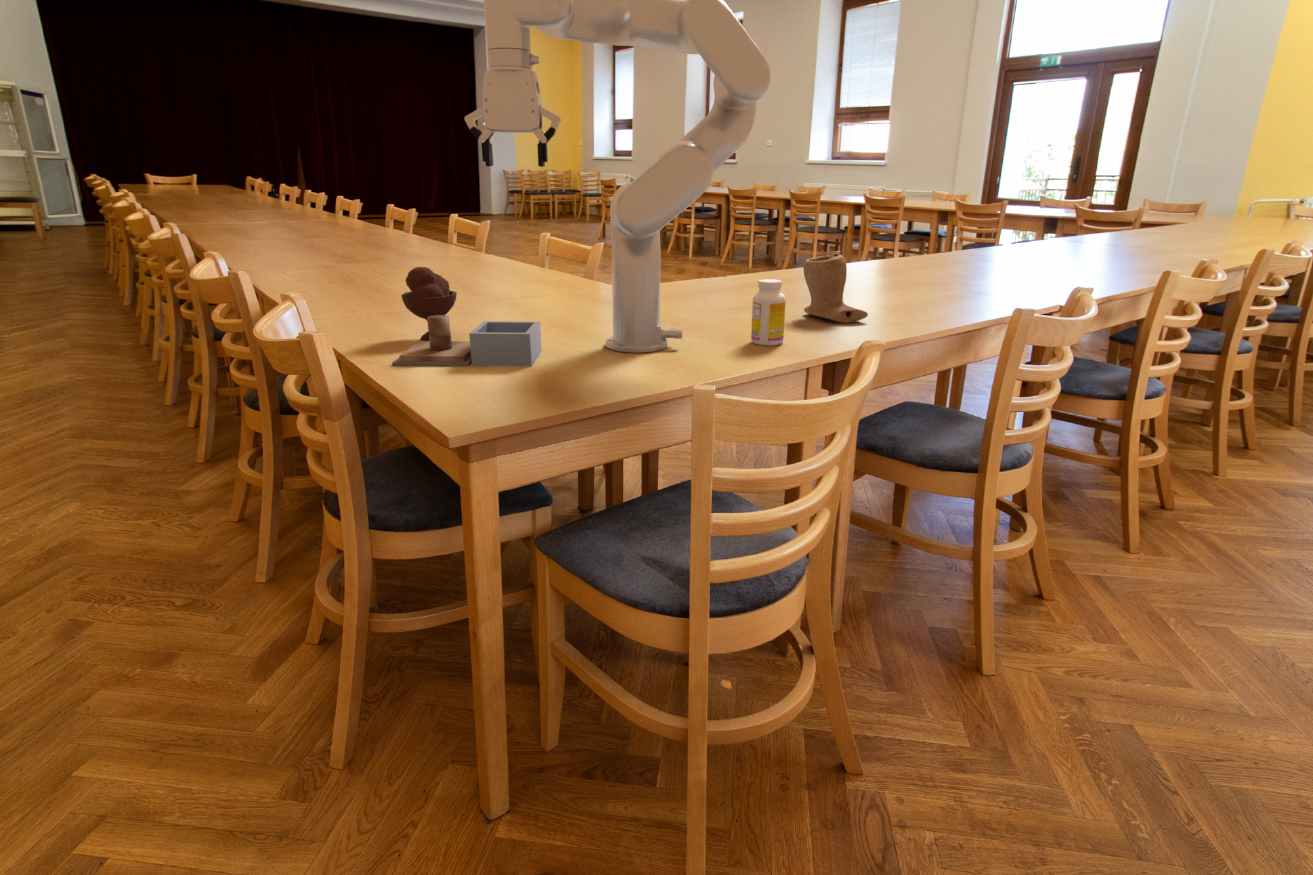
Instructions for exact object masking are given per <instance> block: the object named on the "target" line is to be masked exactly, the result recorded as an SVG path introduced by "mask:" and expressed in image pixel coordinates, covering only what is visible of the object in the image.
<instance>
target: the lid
mask: <svg viewBox="0 0 1313 875" xmlns="http://www.w3.org/2000/svg"><path fill="white" fill-rule="evenodd" d="M426 322H427V328H428V329H427V330H428V331H427V332H429V341H422V340H419V341H418V342H417V343H414V345H412V346H411V347H409V348H408V349H407V350H405V351H404V352H403V353H401V354H400V355H398V356H399V357H398V358H400V361H436V362H465V361H466V360H467V359H468V358H469V357H470V356H471V348H470V340H469V341H467V340H466V341H465V340H463V341H460V340H459V341H458V340H457V341H456V340H455V341H454V340H452V334H451V324H450V322H451V321H450V316H449V315H447V314H446V315H435V316H429V317H427V320H426Z"/></svg>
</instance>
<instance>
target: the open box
mask: <svg viewBox="0 0 1313 875" xmlns="http://www.w3.org/2000/svg"><path fill="white" fill-rule="evenodd" d="M541 332H542V331H541V321H521V320H520V321H516V320H515V321H512V320H511V321H507V320H505V321H504V320H502V321H501V320H500V321H499V320H497V321H496V320H484V321H482V322H481V323H480V324H478V325H477V326H476V327H475V328H474V329H473V330H472V331H471V332H469V341H470V348H471V360H472V363H471V366H474V367H476V366H477V367H480V366H481V367H483V366H484V367H532V366H533V365H534V363H535V362H536V360H537V359H538V358H539V357H540V355H541V353H542V352H543V351H542V335H541V334H542V333H541Z"/></svg>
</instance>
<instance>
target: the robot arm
mask: <svg viewBox="0 0 1313 875" xmlns="http://www.w3.org/2000/svg"><path fill="white" fill-rule="evenodd" d="M483 7H484V8H483V9H484V21H485V22H484V23H485V36H486V51H487V68H488V70H484V76H483V77H484V78H483V88H482V90H483V92H482V106H481V107H479V108H477V109H476V110H474V111H472V112H470V113H469V114H467V115H465V116H464V121H465V123H466V126H467V127H468V129H469V131H470V133H472V135H473V136H474V137H475V138H476V139H478V141H479V142H480V143H481V154H482V157H481V158H482V162H483V163H485V167H493V166H494V154H493V153H494V152H493V144H492V142H491V139H492V137H493V136H494V135H495V133H533V134H534V135H535V136H536V138H537V139H538V142H537V164H538V167H539V168H543V167H546V163H548V161H549V159H548V143H549V142H550V140H551V139H553V137H554V136H555V135H556V134H557V130H558V128H559V126H560V124H561V122H562V118H561V117H560V116H558V115H556V113H553V112H551V111H550V110H548V109H546V108H544V107H542V99H541V98H542V97H541V90H540V84H539V79H538V74H537V72H536V71H533V67H534V66H535V65H540V56H539V55H535V54H533V53H532V51H531V50H532V49H531V29H530V28H531V27H534V28H536V29H537V31H538V32H540V33H541V34H542V35H544V36H546V37H549V38H553V39H557V40H564V41H566V40H567V41H570V42H571V41H573V42H579V43H588V44H600V45H601V44H602V45H611V46H617V47H618V46H619V47H621V46H623V47H624V46H625V47H626V46H627V47H634V48H635V47H636V48H642V49H643V48H644V49H652V50H658V51H666V52H672V53H681V54H688V55H699V56H700V57H701V59H703V61H704V63H705V64H706V65H707V67H708V68H709V69H710V71H711V72H712V73H713V74H714V75H713V76H714V77H713V96H714V100H713V104H712V106H711V109H710V111H709V112H708V113H707V115H706V116H705V117H703V118H701V120H700V121H699V122H698V123H697V124H696V125H695V126H694V127H693V128H692V129H690V131H689V130H688V132H687V133H686V134H684V135H683V136H682V137H681V138H679V140H678V141H676V142H675V143H674V144H671V145H670V146H668V147H667V148H666V149H665V150H663V152H662V153H661V154H660V156H659V158H658V159H657V160H656V161H655V162H654V163H653V164H652V165H651V166H650V167H649V168H648V169H647V170H645V171H644V172H643V173H642V174H641V175H640V176H639V177H637V178H636V179H635V180H634V181H630V182H627V183H624V184H623V185H621V186H620V187H619V188H617V189H616V191H615V192H614V193H613V196H612V198H611V201H610V208H609V221H610V237H611V280H612V281H611V282H612V283H611V286H612V287H611V290H612V292H611V293H612V335H611V336H610V337H607V338H606V339H605V347H606V348H607V349H609V350H612V351H615V352H622V353H633V354H634V353H636V354H637V353H650V352H651V353H652V352H657V351H661V350H664V349H665V348H667V347H668V339H673V340H674V339H680V340H681V339H683V328H677V327H665V326H663V324H662V323H663V322H662V321H661V268H662V267H661V265H662V264H661V261H662V260H661V253H662V252H661V230H662V229H663V228H664V227H666V226H667V225H668V224H669V223H671V222H672V221H673V220H674V219H676V218H677V217H678V216H679V215H680V214H682V213H683V212H684V211H685V210H686V209H687V208H689V207H690V206H691V205H692V204H694V202H696V200H698V199H699V198H700V197H701V196H702V195H703V194H704V193H705V192H706V190H708V187H710V184H711V181H712V180H713V175H714V172H715V171H716V170H718V169H719V168H720V167H721V166H722V165H723V164H724V163H725V162H726V161H727V160H728V159H730V158H731V157H732V156H733V155H734V154H735V153H736V152H737V151H738V150H740V148H741V147H742V145H743V144H745V142H746V141H747V139H748V137H749V136H750V133H751V131H752V129H753V126H754V122H755V118H756V112H757V102H758V101H759V100H760V99H762V98H763V96H764V95H765V94H766V93H767V91H768V90H769V86H770V84H771V69H770V64H769V63H768V59H767V58H766V57H765V55H764V53H763V51H761V49H760V48H759V47H758V45H757V44H756V43H755V41H754V40H753V38H752V37H751V36H750V34H749V33H748V32H747V30H746V29H745V27H744V26H743V25H742V23H741V21H740V20H739V19H738V18H737V16H736V15H735V14H734V13H733V11H732V10H731V8H730V6H728V5H727V3H726V1H724V0H483ZM482 117H483V118H482ZM543 117H545V118H546V119H547V120H550V122H551V123H550V126H549V128H548V129H547V130H546V131H545V132H544V131H543V130H542V129H543V124H544V120H543ZM480 118H482V119H483V126H484V130H483V131H481V130H480V128H479V127H478V126H477V123H476V122H477V120H478V119H479V120H480Z"/></svg>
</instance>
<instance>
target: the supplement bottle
mask: <svg viewBox="0 0 1313 875" xmlns="http://www.w3.org/2000/svg"><path fill="white" fill-rule="evenodd" d="M782 284H783V283H782V280H780V279H774V278H770V279H769V278H767V279H766V278H764V279H759V280H758V284H757V287H758V292H756V293H754V294H753V297H752V307H751V308H752V309H751V310H752V313H751V328H750V329H751V332H750V337H751V338H750V341H751V342H752V344H754V345H757V346H764V347H771V346H772V347H774V346H779V345H781V344H782V343H783V342H784V336H785V335H784V334H785V331H784V330H785V320H786V319H785V318H786V316H785V315H786V295H784V293H782V292H781V289H782Z"/></svg>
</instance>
